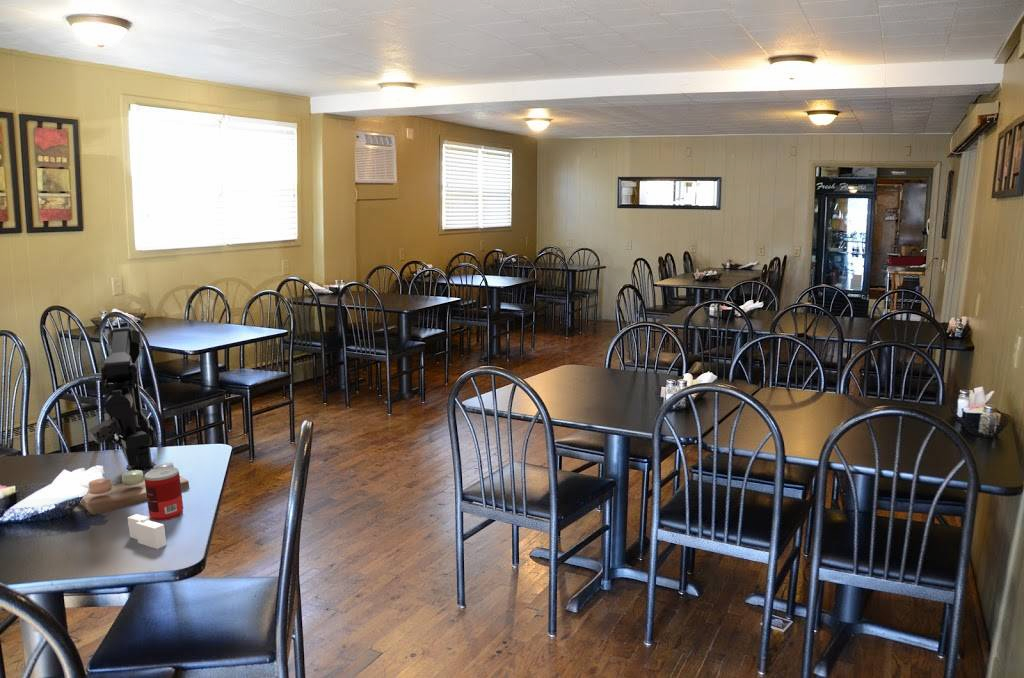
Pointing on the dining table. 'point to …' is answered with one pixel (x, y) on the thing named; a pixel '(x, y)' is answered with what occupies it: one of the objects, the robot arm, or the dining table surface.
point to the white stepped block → (147, 531)
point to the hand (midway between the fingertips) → (131, 465)
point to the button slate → (163, 465)
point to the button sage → (132, 477)
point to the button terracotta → (100, 486)
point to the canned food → (163, 493)
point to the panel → (119, 497)
